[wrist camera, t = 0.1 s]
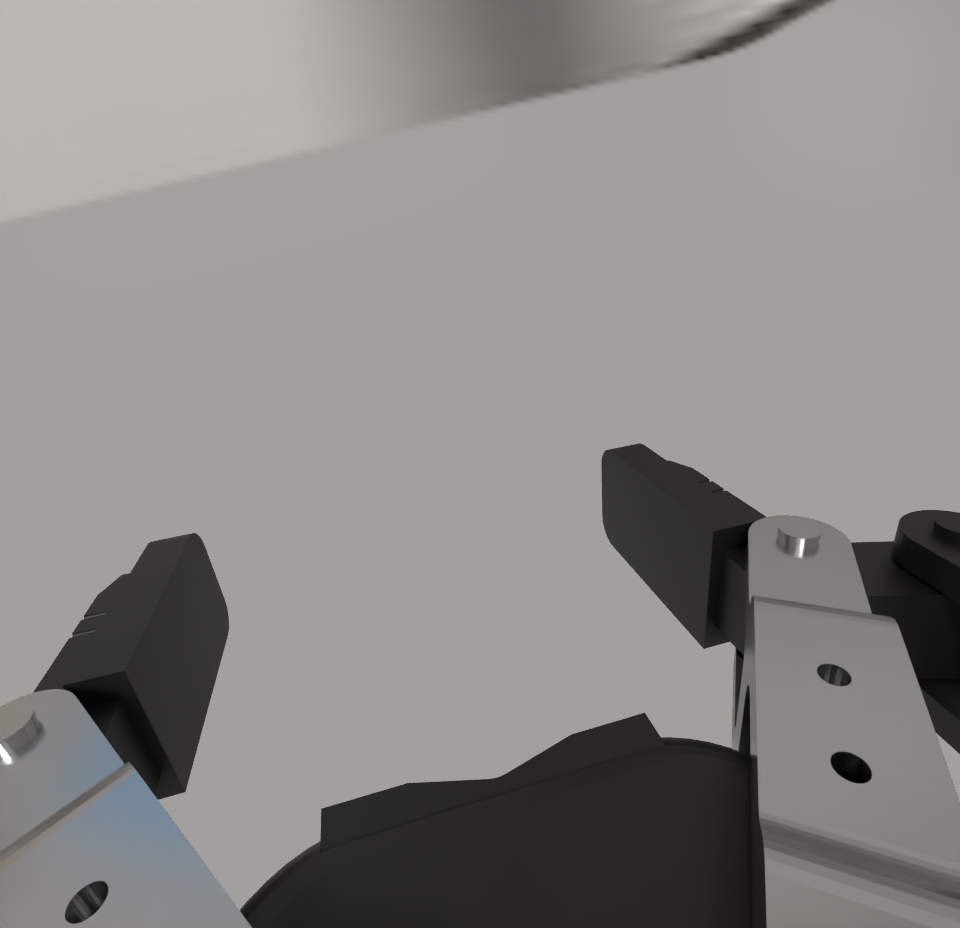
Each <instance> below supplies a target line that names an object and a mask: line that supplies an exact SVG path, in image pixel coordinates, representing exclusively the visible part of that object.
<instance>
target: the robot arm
mask: <svg viewBox="0 0 960 928" xmlns="http://www.w3.org/2000/svg"><path fill="white" fill-rule="evenodd" d="M602 512H603V513H602V514H603V524H604V528H605V532H606V534H607V537H608V539H609V541H610V543H611V544H612V545H613V546H614V548H615V549H616V550H617V551H618V552H619V553H620V555H621V556H622V557H623V558H624V559H625V560H626V561H627V562H628V563H629V565H630V566H631V567H632V568H633V569H634V570H635V571H636V573H637V574H638V575H639V576H640V577H641V578H642V579H643V581H644V582H645V583H646V584H647V585H648V586H649V587H650V588H651V590H652V591H653V592H654V593H655V594H656V595H657V596H658V597H659V599H660V600H661V601H662V602H663V603H664V604H665V605H666V606H667V608H668V609H669V610H670V611H671V612H672V613H673V614H674V616H675V617H676V618H677V619H678V620H679V621H680V622H681V624H682V625H683V626H684V627H685V628H686V629H687V630H688V631H689V633H690V634H691V635H692V636H693V637H694V638H695V639H696V640H697V642H698V643H699V644H700V645H701V646H702V647H703V648H704V649H705V648H708V647H712V646H715V645H719V644H722V643H726V642H731V643H732V644H733V645H734V646H735V647H736V648H735V657H734V673H733V677H734V678H733V719H732V749H731V748H728V747H724V746H721V745H717V744H714V743H710V742H705V741H699V740H693V739H684V738H669V737H665V738H661V737H660V736H659V734H658V733H657V731H656V730H655V728H654V726H653V725H652V723H651V722H650V720H649V719H648V717H647V716H646V714H645V713H643V714H639V715H636V716H632V717H629V718H626V719H623V720H619V721H616V722H612V723H609V724H606V725H603V726H599V727H595V728H593V729H589V730H585V731H582V732H579V733H575V734H572V735H570V736H568V737H567V738H565V739H563V740H562V741H560V742H559V743H557V744H555V745H553V746H552V747H550V748H548V749H547V750H545V751H544V752H542V753H540V754H538V755H537V756H535V757H533V758H532V759H530V760H528V761H527V762H525V763H523V764H522V765H520V766H518V767H517V768H515V769H513V770H512V771H510V772H508V773H507V774H505V775H503V776H501V777H498V778H494V779H483V780H465V781H444V782H425V783H407V784H404V785H400V786H397V787H394V788H390V789H387V790H384V791H380V792H377V793H373V794H370V795H367V796H363V797H360V798H357V799H353V800H350V801H346V802H343V803H340V804H337V805H333V806H329V807H326V808H323V809H322V810H321V811H322V812H321V841H320V842H318V843H316V844H315V845H313V846H311V847H310V848H308V849H307V850H305V851H304V852H302V853H301V854H300V855H298V856H297V857H295V858H294V859H293V860H291V861H290V862H289V863H287V864H286V865H285V866H284V867H283V868H281V869H280V870H279V871H278V872H277V873H276V874H275V875H273V876H272V877H271V878H270V879H269V880H268V881H267V882H266V883H265V884H264V885H263V886H262V887H261V888H260V889H259V890H258V891H257V892H256V893H255V894H254V895H253V896H252V897H251V898H250V899H249V900H248V901H247V902H246V903H245V905H244V906H243V907H242V908H241V910H240V911H239V909H238V908H237V907H236V905H235V904H234V902H233V901H232V900H231V898H230V897H229V896H228V894H227V893H226V892H225V890H224V889H223V888H222V886H221V885H220V883H219V882H218V881H217V879H216V878H215V877H214V875H213V874H212V873H211V871H210V870H209V869H208V867H207V866H206V864H205V863H204V862H203V860H202V859H201V858H200V856H199V855H198V854H197V852H196V851H195V850H194V848H193V847H192V846H191V844H190V843H189V841H188V840H187V839H186V837H185V836H184V835H183V834H182V832H181V831H180V829H179V828H178V827H177V825H176V824H175V822H174V821H173V820H172V818H171V817H170V816H169V814H168V813H167V812H166V810H165V809H164V808H163V806H162V805H161V803H160V802H159V801H158V799H162V798H166V797H169V796H173V795H176V794H179V793H183V792H185V791H186V787H187V783H188V780H189V776H190V772H191V769H192V765H193V761H194V757H195V754H196V750H197V747H198V743H199V739H200V735H201V732H202V728H203V725H204V721H205V717H206V714H207V710H208V706H209V702H210V699H211V695H212V691H213V687H214V684H215V680H216V676H217V673H218V669H219V666H220V662H221V658H222V654H223V651H224V647H225V643H226V640H227V636H228V630H229V619H228V611H227V606H226V602H225V599H224V597H223V594H222V591H221V589H220V586H219V583H218V580H217V578H216V575H215V572H214V570H213V567H212V564H211V562H210V559H209V556H208V554H207V551H206V549H205V546H204V543H203V541H202V540H201V538H200V537H199V536H198V535H197V534H196V533H192V534H187V535H183V536H178V537H173V538H168V539H163V540H158V541H153V542H150V543H149V544H148V545H147V546H146V548H145V550H144V551H143V553H142V555H141V556H140V558H139V560H138V561H137V563H136V565H135V566H134V568H133V570H132V571H131V573H129V574H124V575H121V576H120V577H119V578H118V579H117V580H115V581H114V582H113V583H112V584H111V585H109V586H108V587H107V588H106V589H105V590H103V591H102V592H101V593H100V594H99V595H97V597H96V598H95V600H94V602H93V603H92V605H91V606H90V608H89V609H88V611H87V612H86V614H85V615H84V620H81V621H80V623H79V624H78V626H77V627H76V629H75V630H74V632H73V633H72V634H73V638H69V639H68V641H67V642H66V644H65V646H64V647H63V648H62V650H61V651H60V653H59V654H58V656H57V657H56V659H55V661H54V662H53V664H52V665H51V667H50V668H49V670H48V671H47V673H46V674H45V676H44V677H43V679H42V680H41V682H40V683H39V685H38V686H37V688H36V689H35V691H34V692H33V693H31V694H28V695H25V696H22V697H20V698H17V699H15V700H13V701H11V702H8V703H7V704H5V705H2V706H1V707H0V928H960V801H959V798H958V795H957V793H956V790H955V787H954V784H953V781H952V778H951V775H950V772H949V770H948V767H947V764H946V761H945V758H944V756H943V752H942V749H941V747H940V744H939V741H938V738H937V735H936V733H937V734H938V735H939V736H940V737H942V738H943V739H944V740H945V741H946V742H947V743H948V744H949V745H950V746H952V747H953V748H954V749H955V750H956V751H957V752H958V753H959V754H960V513H956V512H950V511H940V510H922V511H916V512H911V513H908V514H906V515H904V516H903V517H902V518H901V519H900V521H899V524H898V528H897V532H896V536H895V540H894V541H892V542H861V543H860V542H857V543H851V542H850V540H849V539H848V538H847V536H846V535H845V534H843V533H842V532H841V531H839V530H838V529H836V528H834V527H832V526H830V525H828V524H826V523H823V522H821V521H818V520H814V519H810V518H805V517H799V516H789V515H779V516H770V517H766V516H764V515H763V514H761V513H760V512H758V511H757V510H755V509H754V508H752V507H751V506H749V505H748V504H746V503H745V502H743V501H742V500H740V499H738V498H737V497H735V496H734V495H732V494H731V493H729V492H728V491H723V488H722V487H720V486H719V485H717V484H716V483H714V482H713V481H712V482H709V479H708V478H707V477H705V476H704V475H702V474H700V473H699V472H698V471H696V470H694V469H693V468H690V467H687V466H684V465H681V464H678V463H675V462H672V461H666V460H665V459H663V458H662V457H660V456H659V455H658V454H656V453H655V452H653V451H652V450H650V449H649V448H648V447H646V446H645V445H643V444H635V445H630V446H625V447H620V448H615V449H610V450H606V451H605V452H604V454H603V457H602Z"/></svg>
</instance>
